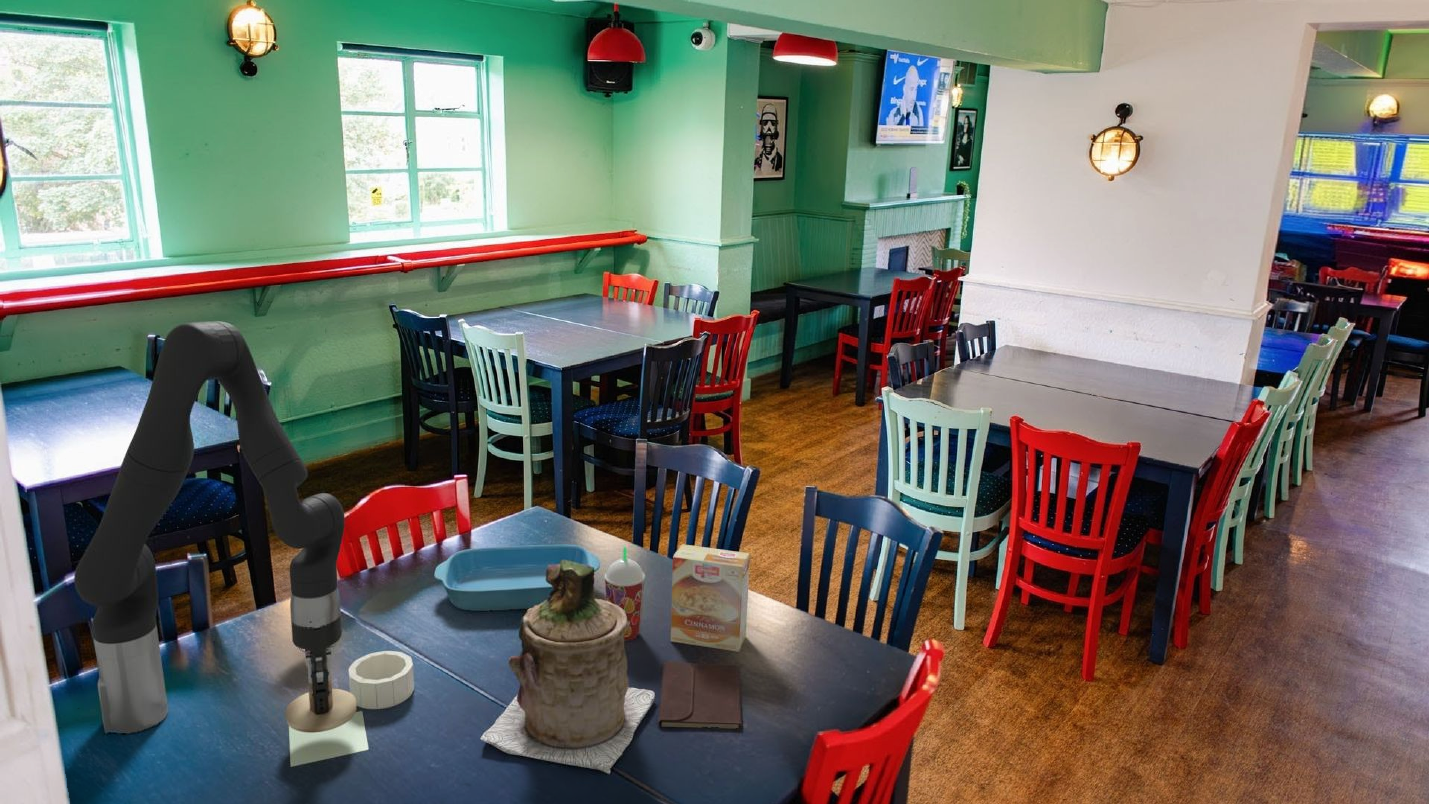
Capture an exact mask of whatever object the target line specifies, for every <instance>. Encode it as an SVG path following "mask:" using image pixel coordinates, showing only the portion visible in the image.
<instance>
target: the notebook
mask: <svg viewBox="0 0 1429 804" xmlns="http://www.w3.org/2000/svg"><path fill="white" fill-rule="evenodd" d="M662 667H663V668H662V678H661V690H660V699H659V711H658V720H657V721H658V723H657V725H658V727H668V728H670V727H673V728H674V727H675V728H702V727H708V729H710V728H711V727H719V728H718V729H736V728H739V729H740V728H742V729H743V723H742V722H743V720H742V706H741V705H742V704H741V703H742V702H741V701H742V699H741V685H740V683H741V681H740V666H739V664H728V663H727V664H725V663H723V664H722V663H697V662H696V663H695V662H694V663H693V662H692V663H691V662H683V661H673V660H672V661H669V660H668V661H664V663H663V666H662ZM711 729H712V728H711Z"/></svg>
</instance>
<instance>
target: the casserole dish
mask: <svg viewBox="0 0 1429 804" xmlns="http://www.w3.org/2000/svg"><path fill="white" fill-rule="evenodd" d="M562 560H568V561H571V562H576V563H580V564H584V565H589V566H591V567H594V573H595V572H597V571H598V570H599V569H600V568H601V567H600V566H601V561H600V559H599V558H598V556H597V555H595V554H592V553H590V551H589V550H588V549H587V548H585V547H584V546H580V545H575V544H540V545H538V544H537V545H536V544H535V545H515V546H513V545H512V546H496V547H495V546H492V547H475V548H469V549H468V548H467V549H462V550H460V551H457V552H455V553H453V554H451V555H450V556H449V557H448V559H446V560H444V561H443V562H442V563H439V564H438V565H437V566H436V568H435V569H434V570H435V571H434V575H433V576H434V579H435V580H437V581H439V582H442V585H443V586H444V590H445V592H446V595H447V597H448V598H449V600H450V602H451V604H452V605H454V607H456V608H458V609H461V610H464V611H468V610H469V611H470V612H489V611H490V610H493V611H509V609H513V610H528V608H533V607H534V606H535V605H539V604H540V603H543V602H544V601H546V600H548V597H549V593H550V592H551V591H552V590H554V588H553V586H552V585H550V584H549V583H547V582H546V569H547V567H548V566H550V565H558V564H561V561H562Z"/></svg>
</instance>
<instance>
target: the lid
mask: <svg viewBox="0 0 1429 804" xmlns="http://www.w3.org/2000/svg"><path fill="white" fill-rule="evenodd" d="M307 684H308V692H306V693H304V694H302V695H300V696H298V697H297V698H294V700H292V701H291V702H289V705H288V706H287V707H286V709H285V720H286V723H287V725H288V727H289V726H290V727H291V728H293V729H294V730H297V731H300V732H308V733H315V732H323V731H328V730H331V729H334V728H337V727H339V726H341V725H343V724H345V723H346V722H348V721H349V720H350V719H351V718H352V717H353V716H354V715H355V713H356V712H357V707H358V706H357V705H356V698H355V697H354V695H353V694H351V693H350V691H347V690H344V689H340V688H333V681H332V678H331V679H330V680H329V681H328V684H329V690H330V694H329V696H328V702H329V712H328V713H325V714H319V715H316V714H315V710H314V699H313V697H312V691H313V688H312V683H309V680H308V682H307Z"/></svg>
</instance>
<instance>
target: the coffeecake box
mask: <svg viewBox="0 0 1429 804" xmlns="http://www.w3.org/2000/svg"><path fill="white" fill-rule="evenodd" d="M750 559H751V553H750V552H743V551H733V550H727V549H719V548H713V547H704V546H698V545H692V544H691V545H689V544H684V543H683V544H682V543H681V545H680V546H679V548H678V549H677V550H676V551H675V553H674V554H673V556H672V573H671V575H672V577H671V609H670V611H671V613H670V615H671V616H670V642H672V643H678V644H679V643H680V644H686V645H692V646H699V647H705V648H712V649H718V650H725V651H731V652H737V653H738V652H740V650H741V648H742V645H743V643H744V641H745V639H746V636H747V623H748V622H747V621H748V619H747V618H748V602H749V601H748V600H749V580H750V563H751V560H750Z"/></svg>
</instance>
